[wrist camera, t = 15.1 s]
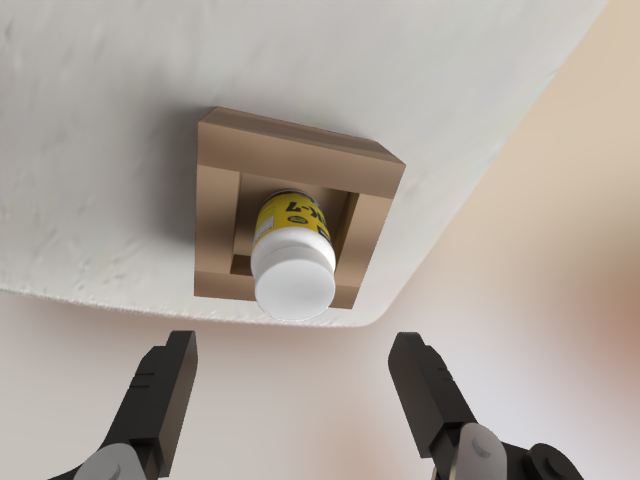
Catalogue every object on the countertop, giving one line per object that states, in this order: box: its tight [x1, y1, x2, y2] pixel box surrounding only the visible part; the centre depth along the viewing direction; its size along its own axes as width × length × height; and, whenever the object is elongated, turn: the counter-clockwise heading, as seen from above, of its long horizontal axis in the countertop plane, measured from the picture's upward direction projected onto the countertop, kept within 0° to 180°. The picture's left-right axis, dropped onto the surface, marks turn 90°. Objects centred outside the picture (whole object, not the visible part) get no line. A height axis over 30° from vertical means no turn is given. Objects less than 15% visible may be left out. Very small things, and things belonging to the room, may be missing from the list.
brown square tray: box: [194, 107, 406, 309], centre depth 22 cm, size 12×12×6 cm
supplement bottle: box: [251, 189, 335, 322], centre depth 18 cm, size 5×5×8 cm
